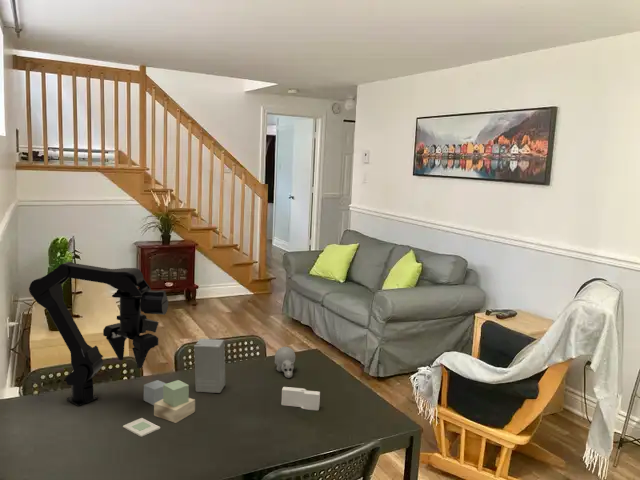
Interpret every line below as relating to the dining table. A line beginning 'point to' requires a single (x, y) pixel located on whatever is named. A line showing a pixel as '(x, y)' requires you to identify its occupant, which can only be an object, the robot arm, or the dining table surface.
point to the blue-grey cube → (153, 391)
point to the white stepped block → (300, 398)
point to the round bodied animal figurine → (285, 360)
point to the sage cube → (175, 393)
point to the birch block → (174, 410)
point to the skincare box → (209, 365)
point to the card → (141, 427)
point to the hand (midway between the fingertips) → (130, 363)
